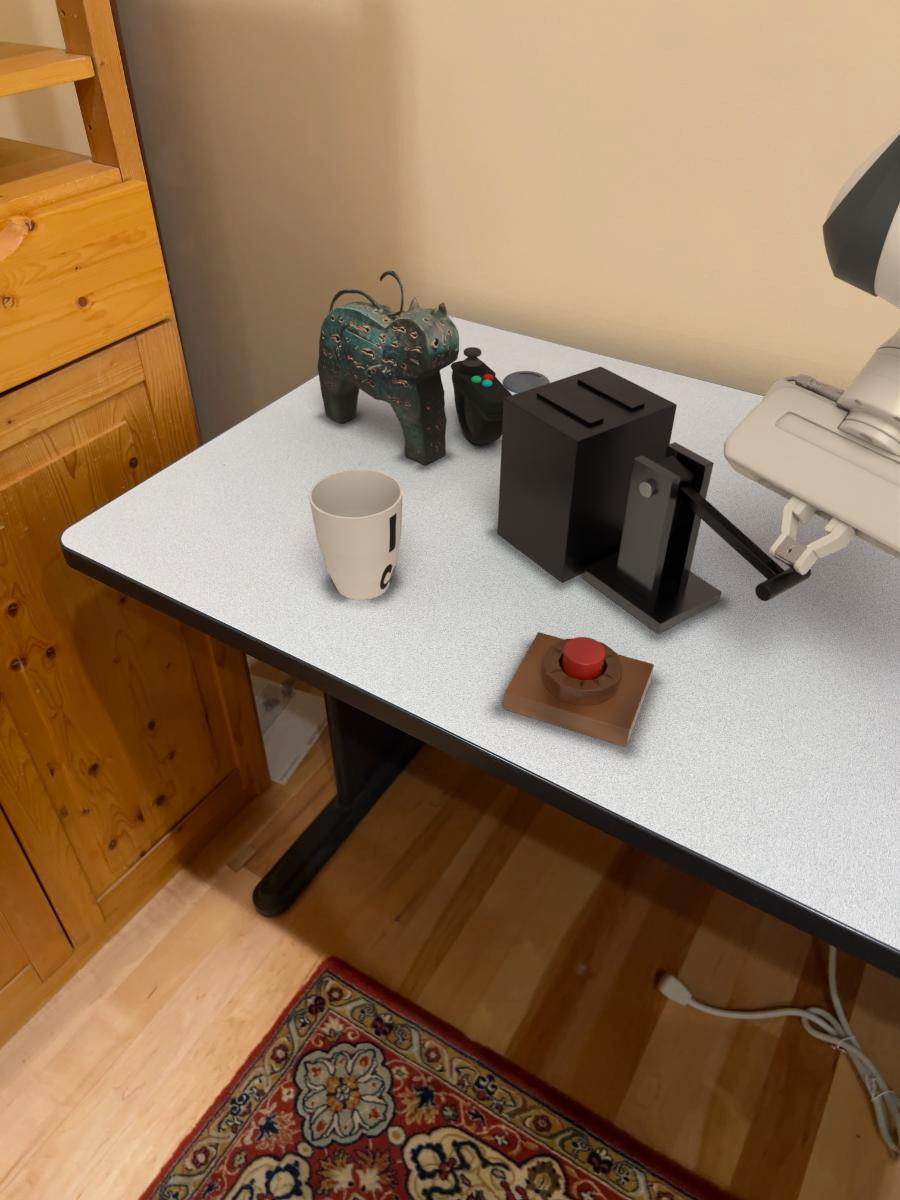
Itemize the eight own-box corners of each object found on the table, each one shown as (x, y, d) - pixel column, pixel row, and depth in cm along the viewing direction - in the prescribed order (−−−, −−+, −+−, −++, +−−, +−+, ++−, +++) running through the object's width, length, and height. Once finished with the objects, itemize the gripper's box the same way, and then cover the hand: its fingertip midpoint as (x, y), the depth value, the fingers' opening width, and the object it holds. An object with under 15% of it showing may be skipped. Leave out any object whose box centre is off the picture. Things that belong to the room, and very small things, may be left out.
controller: (478, 416, 110) (480, 338, 103) (519, 463, 101) (525, 381, 94) (445, 422, 108) (446, 343, 102) (485, 470, 99) (488, 387, 93)
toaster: (652, 541, 89) (677, 401, 79) (562, 583, 83) (577, 438, 74) (585, 497, 95) (601, 363, 85) (497, 533, 90) (503, 394, 80)
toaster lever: (803, 586, 71) (817, 566, 69) (762, 609, 68) (776, 589, 66) (674, 470, 78) (684, 450, 76) (634, 488, 75) (642, 466, 74)
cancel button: (607, 659, 70) (610, 643, 69) (596, 685, 68) (598, 668, 67) (569, 648, 71) (571, 632, 70) (556, 673, 69) (558, 657, 68)
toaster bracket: (719, 602, 81) (752, 471, 72) (658, 634, 78) (685, 501, 69) (641, 550, 87) (663, 424, 79) (581, 578, 84) (597, 449, 75)
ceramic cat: (462, 457, 102) (465, 283, 89) (423, 478, 98) (420, 300, 85) (348, 403, 112) (336, 240, 100) (308, 420, 108) (291, 253, 96)
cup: (402, 611, 80) (399, 519, 74) (313, 610, 80) (302, 517, 74) (408, 558, 86) (405, 469, 80) (325, 557, 86) (315, 468, 80)
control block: (650, 680, 73) (657, 649, 71) (626, 747, 67) (632, 715, 65) (536, 648, 76) (539, 617, 74) (503, 709, 70) (505, 677, 68)
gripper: (776, 347, 70) (670, 488, 72) (1031, 453, 58) (895, 622, 59) (797, 385, 75) (697, 517, 77) (1036, 490, 63) (910, 646, 64)
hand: (785, 564), depth 68 cm, fingers closed
